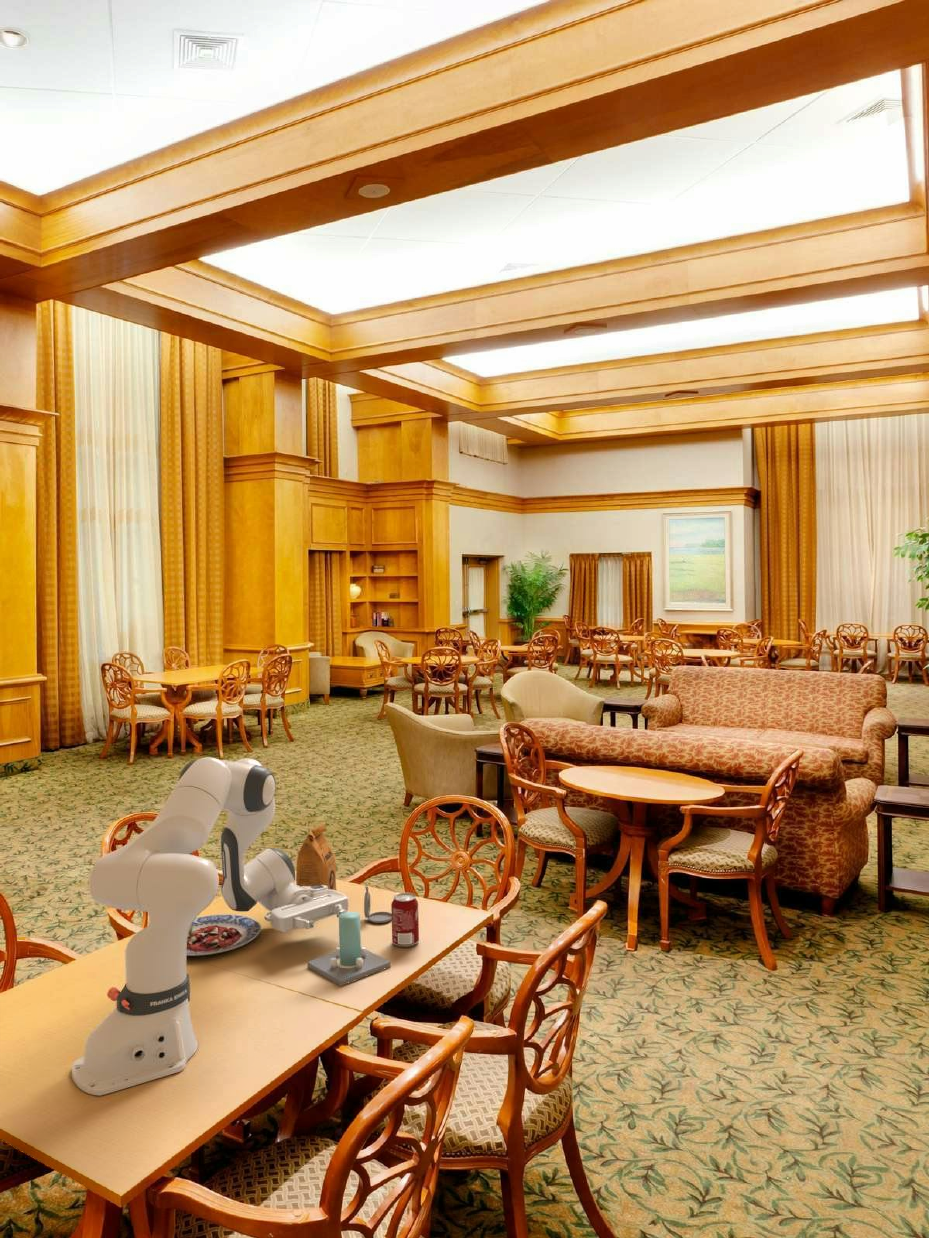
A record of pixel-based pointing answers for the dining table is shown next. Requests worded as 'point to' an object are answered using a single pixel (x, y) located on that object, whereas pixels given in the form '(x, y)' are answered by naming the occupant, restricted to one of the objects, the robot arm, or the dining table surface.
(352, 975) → the dowel seat
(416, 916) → the soda can
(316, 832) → the coffee package
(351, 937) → the teal post
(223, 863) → the robot arm
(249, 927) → the ceramic plate
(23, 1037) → the dining table surface
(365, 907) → the pocket watch
